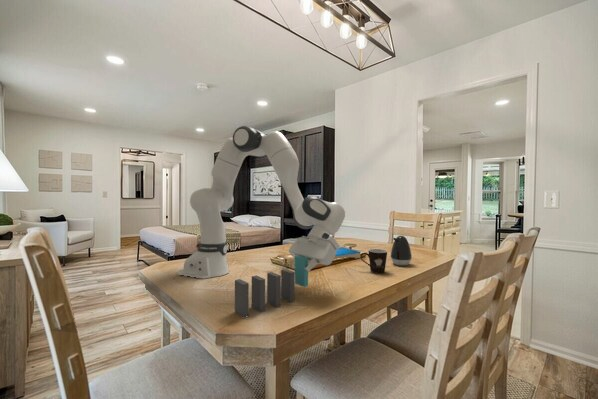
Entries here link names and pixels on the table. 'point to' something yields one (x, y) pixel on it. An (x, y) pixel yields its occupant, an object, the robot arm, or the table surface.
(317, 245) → the robot arm
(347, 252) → the book
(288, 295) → the domino
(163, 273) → the table surface
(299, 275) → the domino
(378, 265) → the coffee mug
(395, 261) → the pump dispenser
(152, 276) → the table surface
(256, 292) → the domino
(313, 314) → the table surface
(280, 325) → the table surface
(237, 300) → the domino
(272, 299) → the domino
